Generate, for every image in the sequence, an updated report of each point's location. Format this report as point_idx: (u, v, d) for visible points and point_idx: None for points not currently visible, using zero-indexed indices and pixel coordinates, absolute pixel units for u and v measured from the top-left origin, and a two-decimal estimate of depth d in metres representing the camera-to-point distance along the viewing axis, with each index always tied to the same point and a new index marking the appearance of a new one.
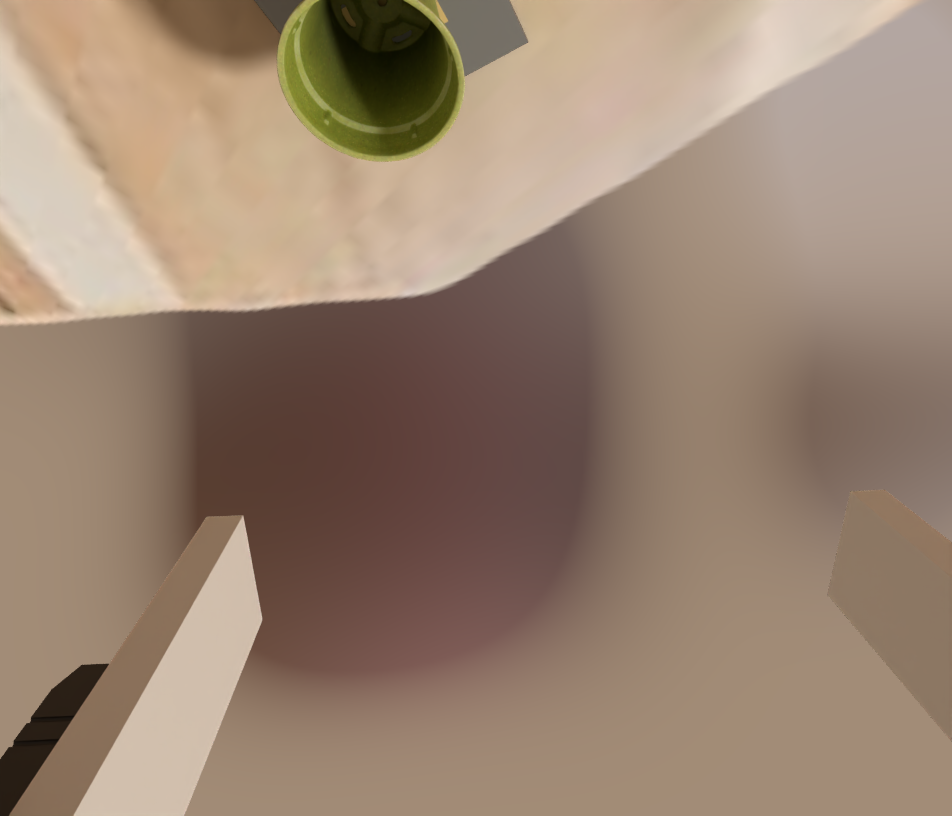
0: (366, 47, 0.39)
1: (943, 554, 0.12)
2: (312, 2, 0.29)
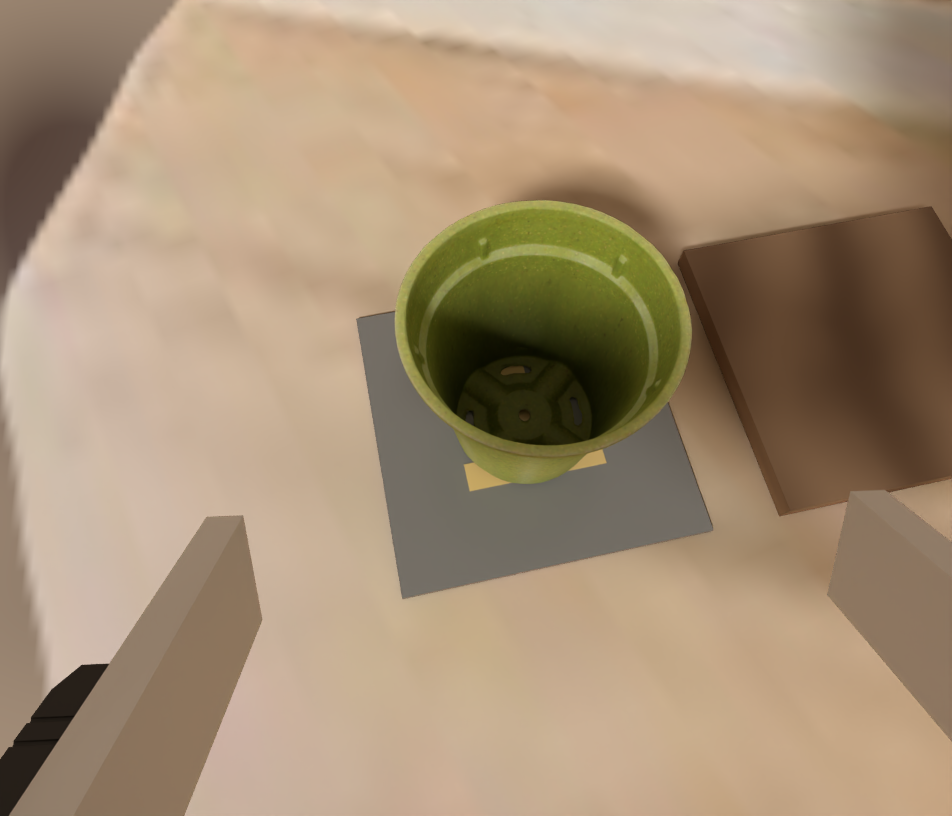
0: (474, 374, 0.29)
1: (943, 554, 0.12)
2: (674, 287, 0.21)
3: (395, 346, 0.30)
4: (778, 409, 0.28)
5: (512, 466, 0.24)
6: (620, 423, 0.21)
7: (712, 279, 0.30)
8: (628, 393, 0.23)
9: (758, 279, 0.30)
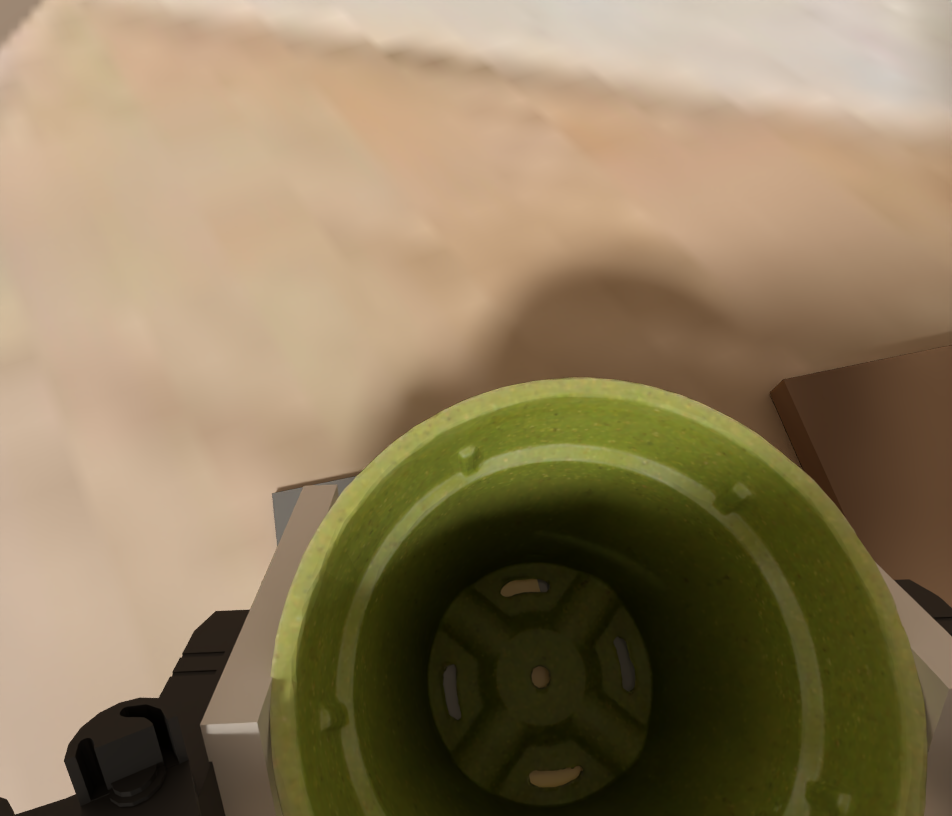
0: (458, 601, 0.17)
1: None
2: (872, 586, 0.10)
3: None
4: None
5: None
6: None
7: (832, 429, 0.19)
8: (744, 727, 0.12)
9: (903, 428, 0.19)
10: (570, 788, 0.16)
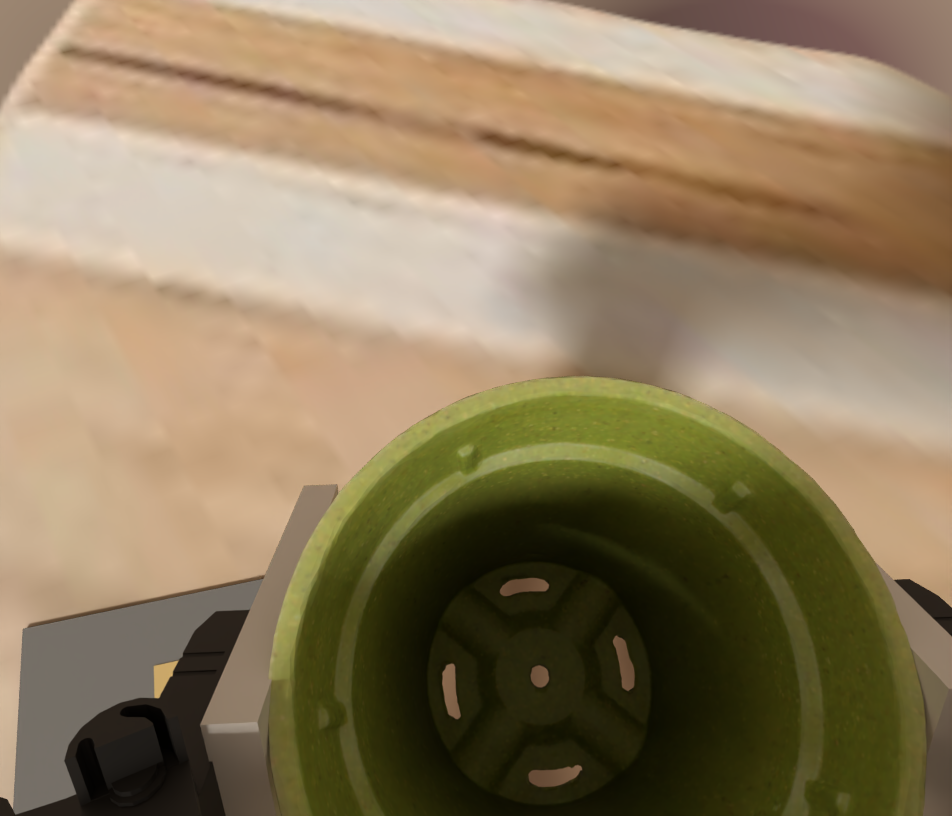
0: (457, 600, 0.17)
1: None
2: (871, 585, 0.10)
3: (56, 662, 0.29)
4: None
5: None
6: None
7: None
8: (744, 727, 0.12)
9: None
10: (569, 787, 0.16)
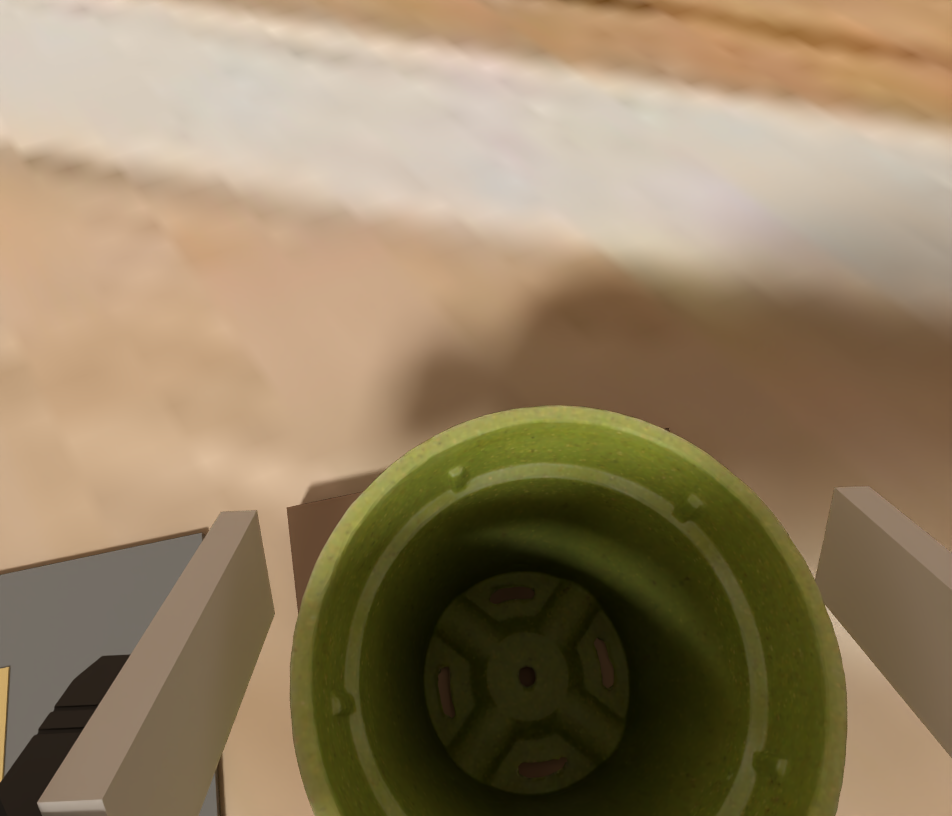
0: (451, 608, 0.19)
1: (923, 548, 0.12)
2: (802, 581, 0.12)
3: None
4: None
5: None
6: None
7: None
8: (705, 711, 0.14)
9: None
10: (555, 777, 0.17)
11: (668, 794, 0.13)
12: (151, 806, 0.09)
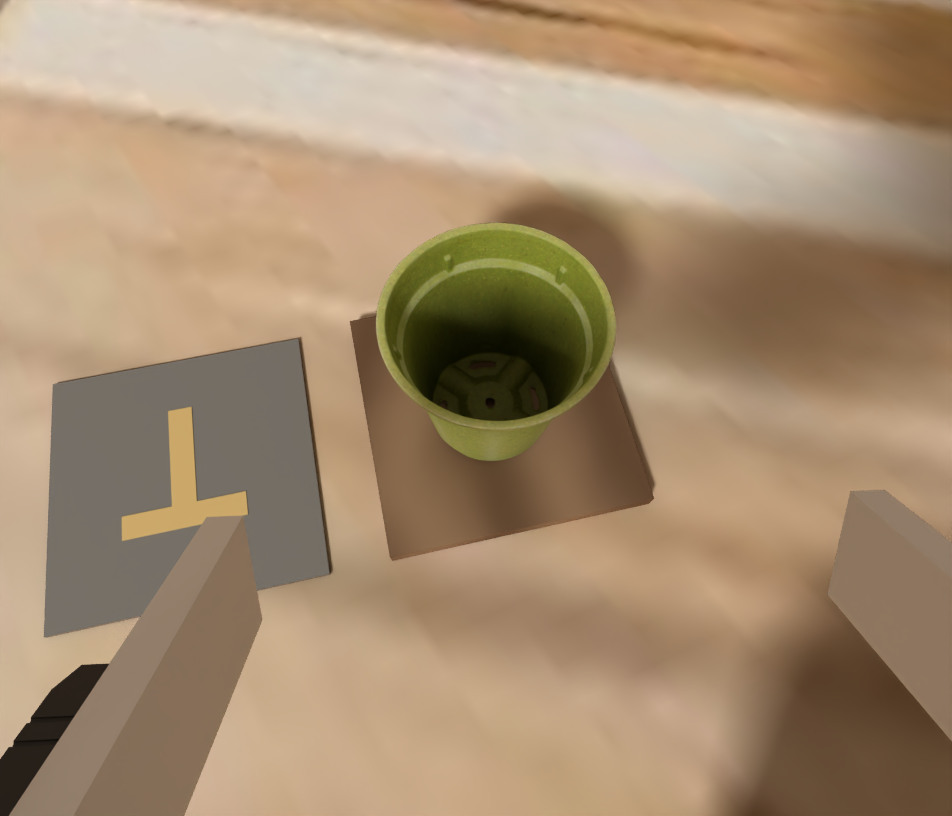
0: (447, 369, 0.33)
1: (943, 554, 0.12)
2: (602, 291, 0.26)
3: (83, 409, 0.34)
4: (400, 466, 0.32)
5: (478, 443, 0.28)
6: None
7: (369, 348, 0.34)
8: (572, 380, 0.28)
9: None
10: None
11: None
12: None
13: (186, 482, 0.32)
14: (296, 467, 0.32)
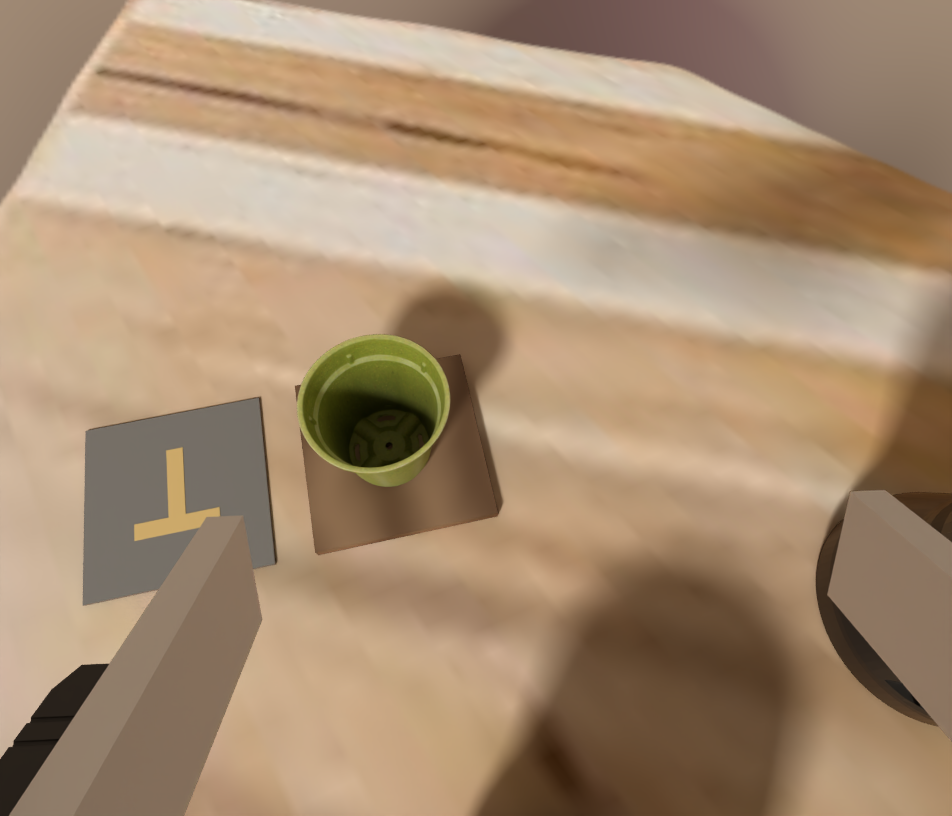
0: (360, 422, 0.48)
1: (943, 554, 0.12)
2: (443, 382, 0.40)
3: (107, 449, 0.48)
4: (325, 490, 0.46)
5: (370, 477, 0.43)
6: None
7: None
8: None
9: None
10: None
11: (418, 458, 0.42)
12: None
13: (178, 500, 0.47)
14: (254, 490, 0.47)
